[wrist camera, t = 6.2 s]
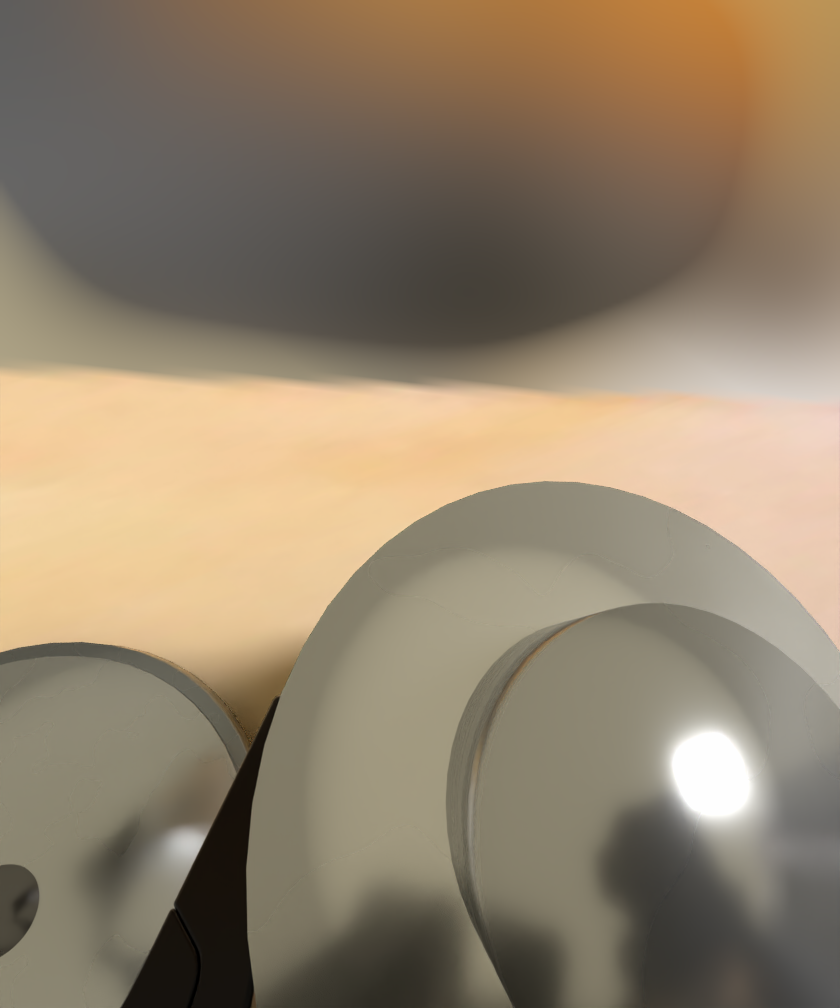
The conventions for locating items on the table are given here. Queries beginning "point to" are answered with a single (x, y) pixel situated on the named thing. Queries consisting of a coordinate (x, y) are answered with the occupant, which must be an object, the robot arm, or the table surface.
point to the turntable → (100, 813)
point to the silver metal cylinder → (552, 773)
